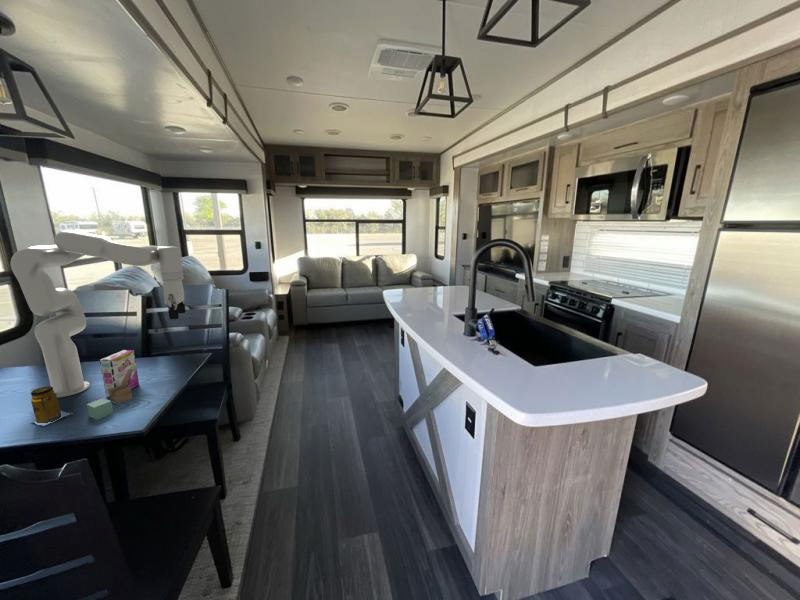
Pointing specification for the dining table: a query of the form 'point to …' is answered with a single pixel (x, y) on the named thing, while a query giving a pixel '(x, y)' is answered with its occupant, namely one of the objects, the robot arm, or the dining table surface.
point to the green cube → (100, 408)
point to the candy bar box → (119, 370)
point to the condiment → (45, 405)
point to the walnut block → (120, 393)
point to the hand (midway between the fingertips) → (177, 315)
